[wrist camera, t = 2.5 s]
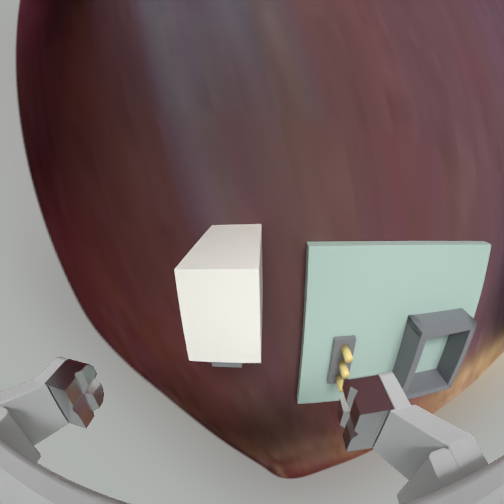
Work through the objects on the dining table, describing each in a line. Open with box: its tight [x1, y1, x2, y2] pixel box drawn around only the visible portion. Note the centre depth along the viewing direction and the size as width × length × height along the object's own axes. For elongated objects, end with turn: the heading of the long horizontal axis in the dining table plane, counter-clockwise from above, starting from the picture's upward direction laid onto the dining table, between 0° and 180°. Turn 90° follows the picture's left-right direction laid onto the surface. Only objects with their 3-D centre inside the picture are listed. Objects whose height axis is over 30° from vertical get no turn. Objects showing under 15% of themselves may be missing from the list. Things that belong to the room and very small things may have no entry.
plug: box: [174, 224, 263, 367], centre depth 15 cm, size 5×3×8 cm, turn 2°
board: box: [297, 241, 491, 404], centre depth 18 cm, size 14×16×4 cm
